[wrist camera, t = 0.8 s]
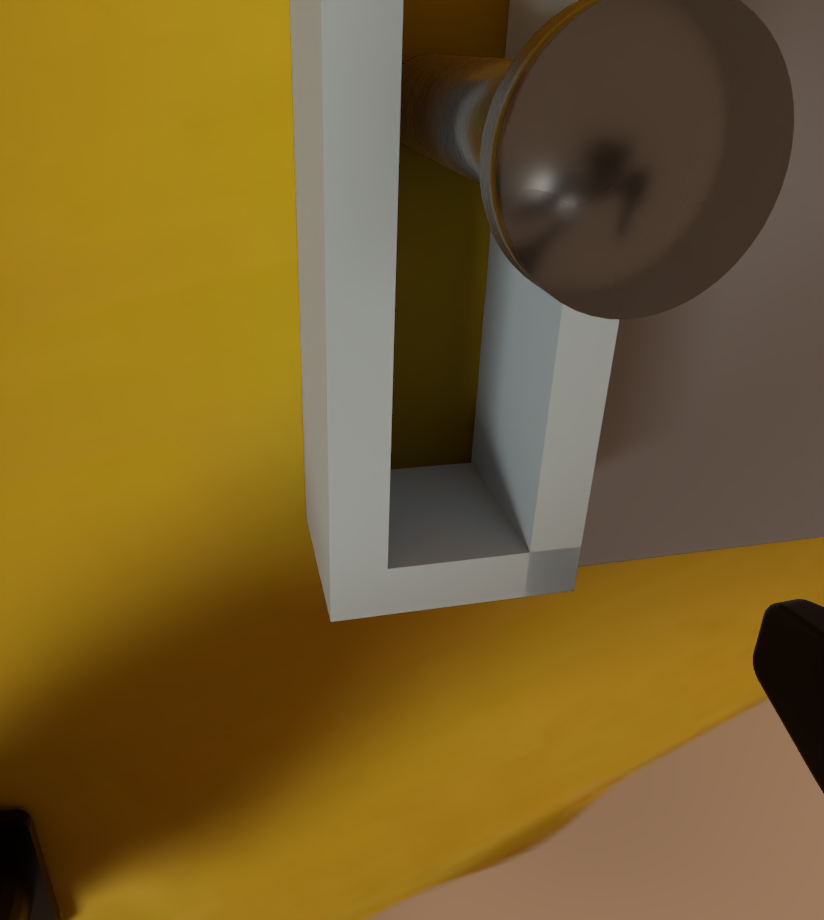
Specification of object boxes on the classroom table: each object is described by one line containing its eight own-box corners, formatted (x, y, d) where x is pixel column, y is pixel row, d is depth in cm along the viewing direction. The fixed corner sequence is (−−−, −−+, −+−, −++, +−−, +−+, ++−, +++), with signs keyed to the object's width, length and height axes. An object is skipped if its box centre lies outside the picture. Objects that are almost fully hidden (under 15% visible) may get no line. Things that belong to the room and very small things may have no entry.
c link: (509, 497, 23) (573, 590, 19) (305, 517, 21) (330, 622, 18) (568, -20, 17) (680, -37, 13) (288, -38, 15) (320, -64, 11)
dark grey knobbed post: (498, 189, 18) (750, 314, 10) (349, 189, 18) (489, 325, 9) (513, 15, 17) (832, -11, 8) (348, 6, 16) (519, -31, 8)
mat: (830, 528, 27) (838, 534, 26) (562, 560, 24) (567, 567, 24) (1017, -14, 19) (1033, -15, 19) (656, -41, 17) (665, -43, 17)
